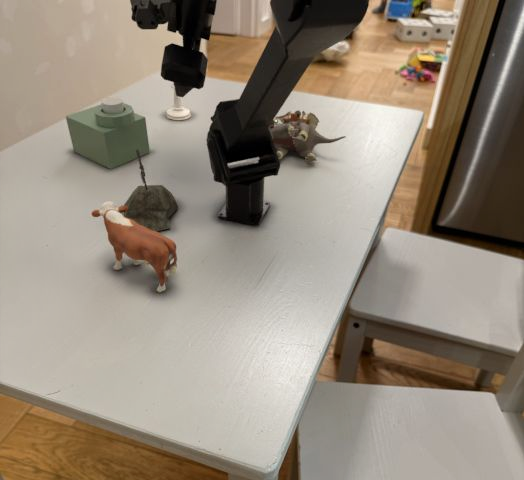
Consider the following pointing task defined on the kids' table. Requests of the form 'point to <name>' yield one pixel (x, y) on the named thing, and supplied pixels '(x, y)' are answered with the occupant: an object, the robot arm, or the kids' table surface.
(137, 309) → the kids' table surface
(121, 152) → the green push button box
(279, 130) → the figurine
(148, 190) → the sword in stone
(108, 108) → the flush button
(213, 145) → the robot arm
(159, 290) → the bull figurine
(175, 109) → the chess piece
